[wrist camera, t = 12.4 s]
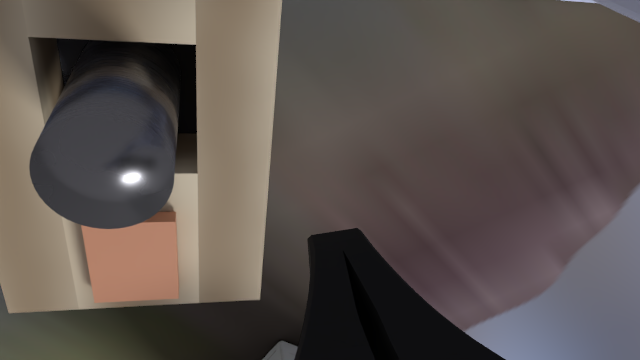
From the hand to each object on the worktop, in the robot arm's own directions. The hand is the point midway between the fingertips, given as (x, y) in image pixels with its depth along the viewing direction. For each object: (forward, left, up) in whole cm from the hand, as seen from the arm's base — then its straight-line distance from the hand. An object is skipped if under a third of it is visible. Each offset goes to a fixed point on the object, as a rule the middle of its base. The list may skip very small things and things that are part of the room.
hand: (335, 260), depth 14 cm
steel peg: (+6, -1, -9) cm, 11 cm away
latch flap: (+6, +5, -6) cm, 10 cm away
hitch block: (+6, +2, -9) cm, 11 cm away
